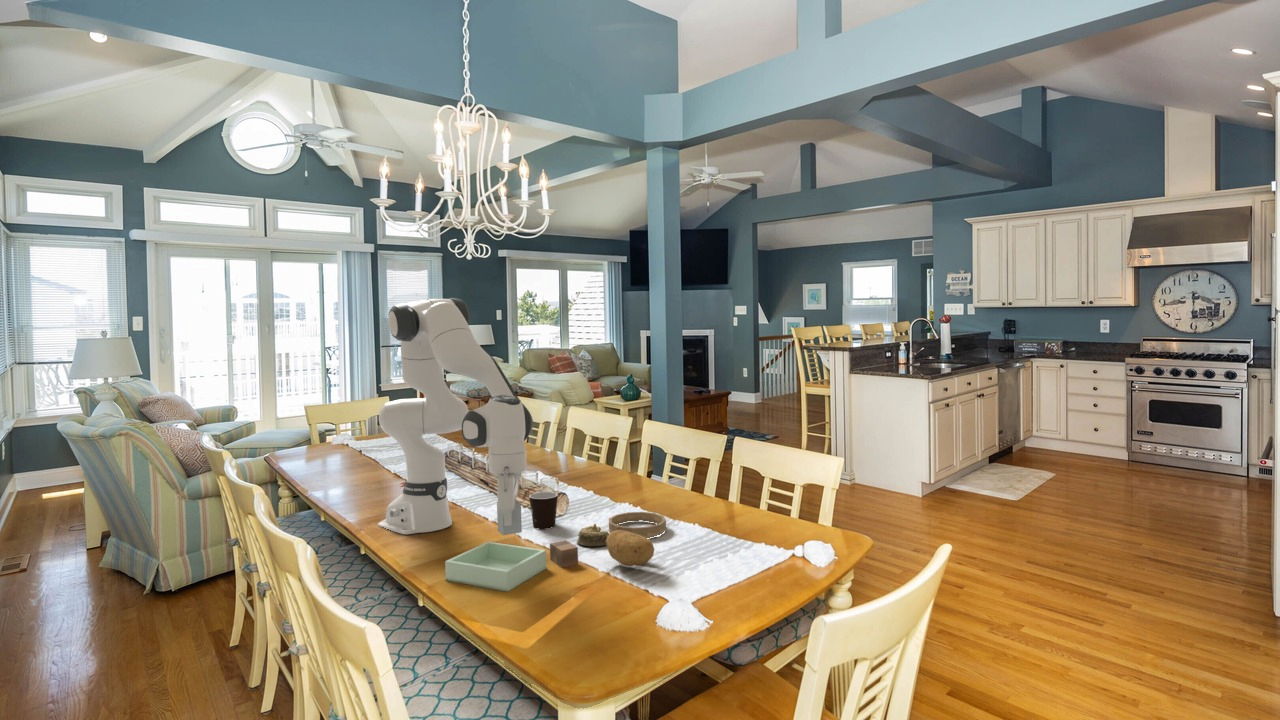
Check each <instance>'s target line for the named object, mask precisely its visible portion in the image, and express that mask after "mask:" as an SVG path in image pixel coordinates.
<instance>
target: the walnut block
mask: <svg viewBox="0 0 1280 720" xmlns="http://www.w3.org/2000/svg"><path fill="white" fill-rule="evenodd" d="M549 554H550V556H549V557H550V559H549V561H551V562H553V564H556V565H557V566H559V567H560V568H562V569H563V568H567V567H571V566H573V567H574V566H577V565H579V549H578V546H576V545H575V544H573V543H571V542H570V541H568V540H564V539H563V540H560V541H559V540H558V541H555V542H551V543H550V542H549Z"/></svg>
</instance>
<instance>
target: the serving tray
mask: <svg viewBox="0 0 1280 720" xmlns="http://www.w3.org/2000/svg"><path fill="white" fill-rule="evenodd" d="M547 565H548V564H547V550H546V549H541V548H534V547H527V546H519V545H516V544H515V545H514V544H509V543H508V544H506V543H501V542H494V541H486V542H484V543H482V544H480V545H477V546H475V547H473V548H471V549H469V550H467V551H465V552H463V553H461V554H458V555H456V556H453V557H451V558H449V559H447V560H445V561H444V567H445V581H448V582H453V583H458V584H462V585H469V586H474V587H478V588H479V587H480V588H484V589H490V590H495V591H496V590H497V591H501V592H506V593H508V592H510V591H511V590H513V589H515V588H516V587H518V586H520V585H522V584H523V583H524V582H525V583H526V581H528V580H529V579H531V578H533V577H534V576H536V575H538V574H540V573H541V572H543V571H544V570H546V569H547Z"/></svg>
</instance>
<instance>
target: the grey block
mask: <svg viewBox="0 0 1280 720" xmlns="http://www.w3.org/2000/svg"><path fill="white" fill-rule="evenodd" d="M496 509H497V510H496V515H497V516H496V518H497V521H496V522H497V531H498V532H499V533H500V534H501V535H503V536H509V535H512V534H514V535H515V534H518V533H522V532H523V531H522V530H523V529H522V528H523V526H522V525H523V524H522V503H521V502H520V501H519V500H517V499H516V502H515V507H514V510H513V511H512V525H510V526H505V525H504V517H503V512H499V511H498V501H496Z"/></svg>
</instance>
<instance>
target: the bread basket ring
mask: <svg viewBox="0 0 1280 720" xmlns="http://www.w3.org/2000/svg"><path fill="white" fill-rule="evenodd" d="M639 520H643V521H649V522H654V523H657V525H655V524H651V525H650V526H637V527H636V526H633V527H631V526H624V525H617V524H619V523H623V522H627V521H639ZM615 530H623V531H628V532H631V533H636V534H638V535H641V536H643V537H645V538H650V537H654V536H657V535H660V534H662V533H663V532H664V531H665V530H666V531H667V520H666V517H665V516H663V515H662V514H661V515H660V514H658V513H656V512H647V511H629V512H623V513H619V514H615V515H613V516H611V517H609V518H608V533H611V532H613V531H615Z"/></svg>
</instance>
